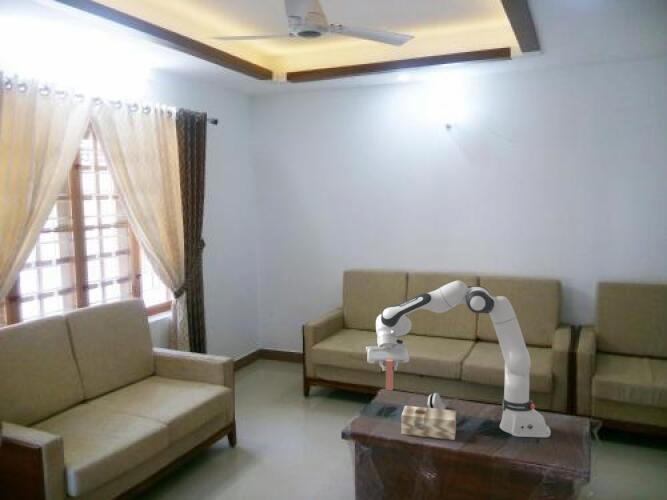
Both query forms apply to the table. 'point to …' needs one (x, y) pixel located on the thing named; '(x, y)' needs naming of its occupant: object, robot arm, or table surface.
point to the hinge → (435, 401)
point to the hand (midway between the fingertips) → (389, 370)
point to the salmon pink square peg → (389, 374)
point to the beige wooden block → (428, 422)
